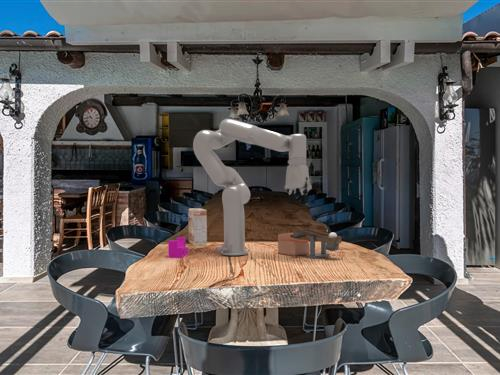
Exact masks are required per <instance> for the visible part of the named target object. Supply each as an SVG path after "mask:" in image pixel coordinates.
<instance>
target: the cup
mask: <svg viewBox="0 0 500 375" xmlns="http://www.w3.org/2000/svg"><path fill="white" fill-rule="evenodd" d="M292 234H295V232H287V233H286V232H285V233H278V234H277V247H278V248H277V254H278V255H283V256H290V257H300V256H304V255H305V256H306V255H309V253H310V242H309V240H308V239H307V240H306V239H299V238H292V237H290V235H292Z"/></svg>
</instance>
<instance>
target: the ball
mask: <svg viewBox="0 0 500 375" xmlns="http://www.w3.org/2000/svg"><path fill="white" fill-rule="evenodd" d="M328 234H329V237H330V238H333V237H337V236H338V234H337V233H336V232H333V231H332V232H330V233H328Z"/></svg>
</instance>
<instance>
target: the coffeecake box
mask: <svg viewBox="0 0 500 375" xmlns="http://www.w3.org/2000/svg"><path fill="white" fill-rule="evenodd" d="M187 211H188V212H187V213H188V216H187V217H188V218H187V219H188V243H189V244H191V245H192V246H193V247H200V246H203V247H204V246H206V247H207V245H208V227H207V224H208V223H207V222H208V219H207V218H208V217H207V213H208V211H207V209H204V208H196V207H195V208H188V210H187Z"/></svg>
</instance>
